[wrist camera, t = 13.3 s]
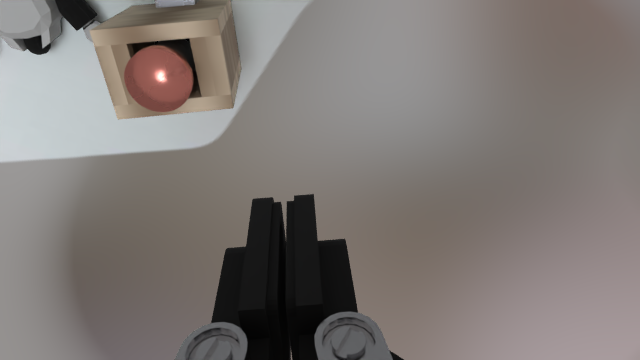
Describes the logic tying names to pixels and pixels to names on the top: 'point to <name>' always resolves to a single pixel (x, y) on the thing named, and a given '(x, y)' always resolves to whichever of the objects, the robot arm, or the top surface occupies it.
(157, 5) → the rail
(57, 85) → the top surface
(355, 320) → the robot arm
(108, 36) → the open wooden box
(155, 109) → the plunger
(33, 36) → the robot toy
